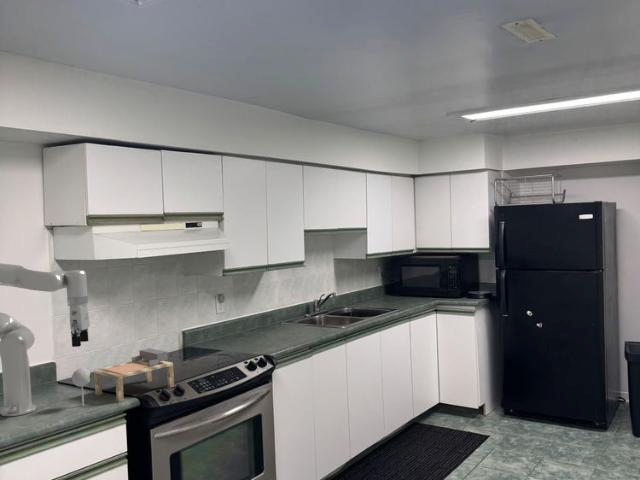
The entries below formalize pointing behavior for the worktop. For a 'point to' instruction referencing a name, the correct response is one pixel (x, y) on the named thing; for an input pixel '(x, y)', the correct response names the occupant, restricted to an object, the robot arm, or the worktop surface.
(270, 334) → the worktop surface
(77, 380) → the lollipop
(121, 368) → the trapdoor
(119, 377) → the trapdoor frame
